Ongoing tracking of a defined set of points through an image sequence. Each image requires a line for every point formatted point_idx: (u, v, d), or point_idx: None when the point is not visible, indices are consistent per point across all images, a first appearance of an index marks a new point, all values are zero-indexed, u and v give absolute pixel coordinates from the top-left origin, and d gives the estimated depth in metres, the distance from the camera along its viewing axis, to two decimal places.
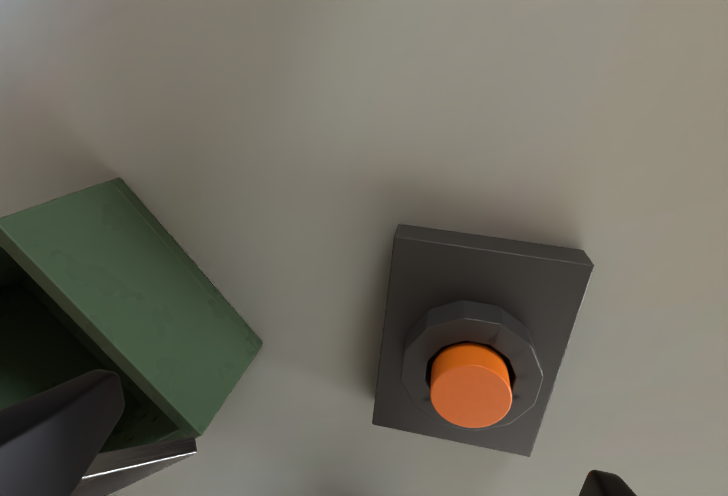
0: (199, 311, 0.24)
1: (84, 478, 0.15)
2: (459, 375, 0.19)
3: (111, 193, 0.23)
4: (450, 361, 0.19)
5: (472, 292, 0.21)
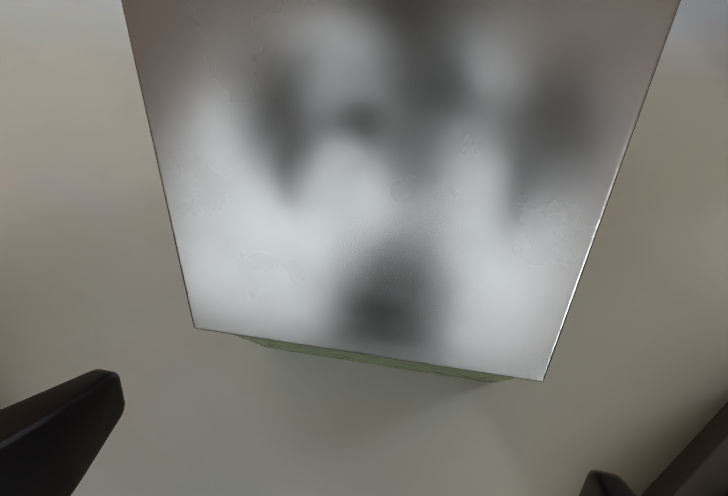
0: None
1: (588, 249, 0.11)
2: None
3: None
4: None
5: None
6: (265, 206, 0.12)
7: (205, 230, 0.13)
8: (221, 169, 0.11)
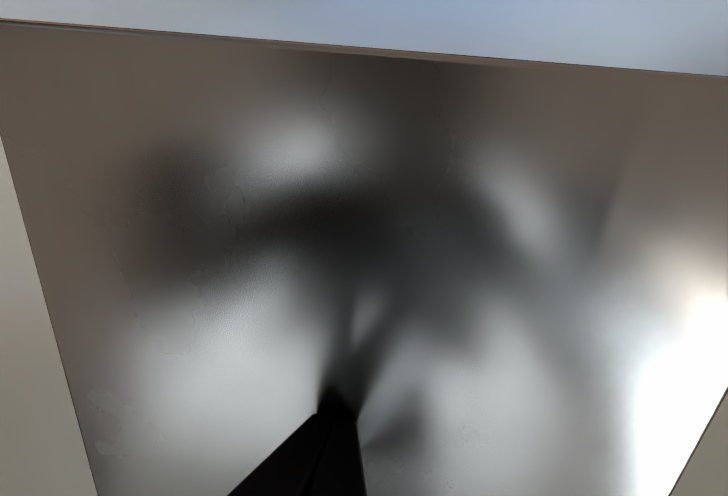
0: None
1: None
2: None
3: None
4: None
5: None
6: (206, 462, 0.09)
7: (130, 475, 0.10)
8: (150, 417, 0.09)
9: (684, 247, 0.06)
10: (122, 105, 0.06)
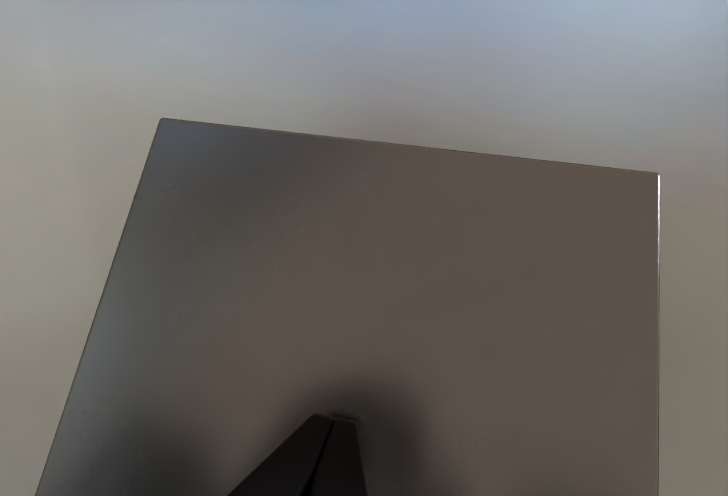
0: None
1: None
2: None
3: None
4: None
5: None
6: None
7: None
8: (139, 441, 0.09)
9: (588, 255, 0.09)
10: (237, 164, 0.10)
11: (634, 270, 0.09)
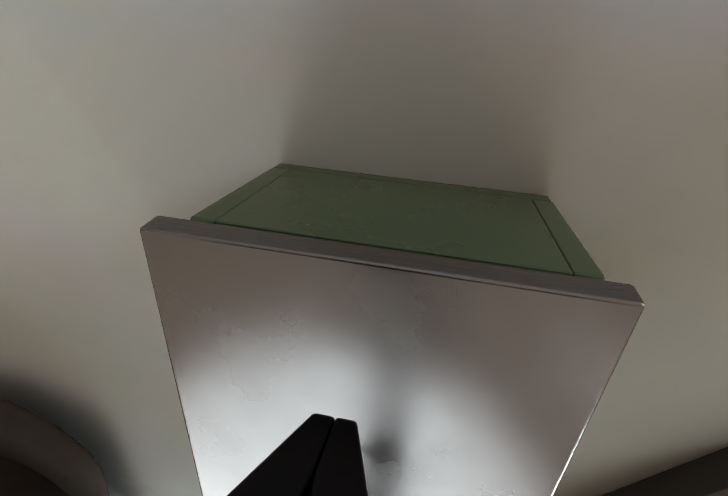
0: None
1: None
2: None
3: None
4: None
5: None
6: None
7: (222, 465, 0.15)
8: (238, 434, 0.14)
9: (550, 364, 0.10)
10: (231, 277, 0.11)
11: (587, 377, 0.10)
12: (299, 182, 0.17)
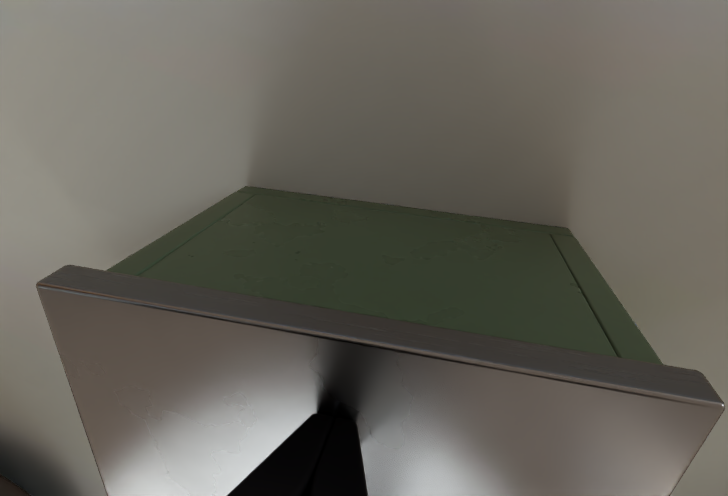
0: None
1: None
2: None
3: None
4: None
5: None
6: None
7: None
8: None
9: (587, 476, 0.07)
10: (157, 348, 0.08)
11: (637, 495, 0.07)
12: (263, 213, 0.14)
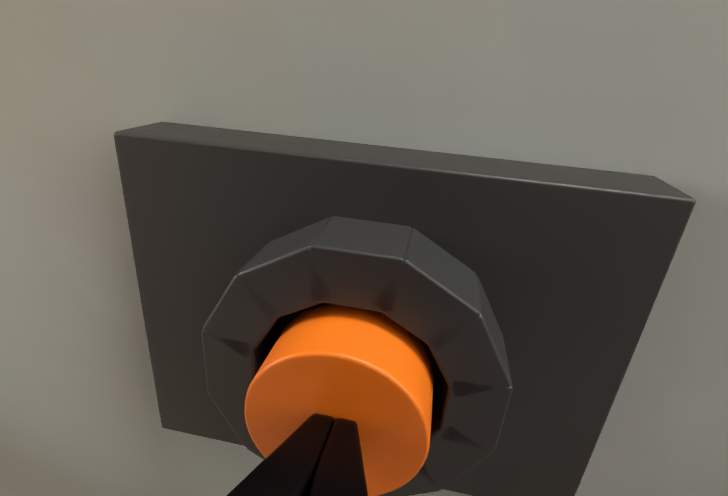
0: None
1: None
2: (276, 445, 0.08)
3: None
4: None
5: None
6: None
7: None
8: None
9: None
10: None
11: None
12: None
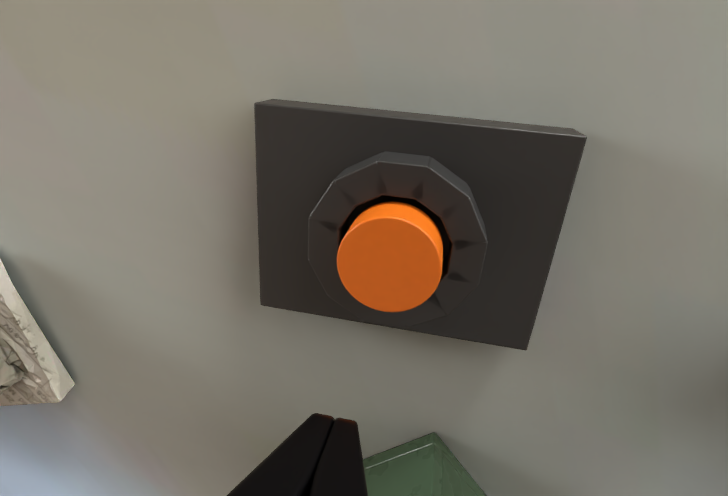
0: None
1: None
2: (354, 279, 0.15)
3: None
4: None
5: None
6: None
7: None
8: None
9: None
10: None
11: None
12: None
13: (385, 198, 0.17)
